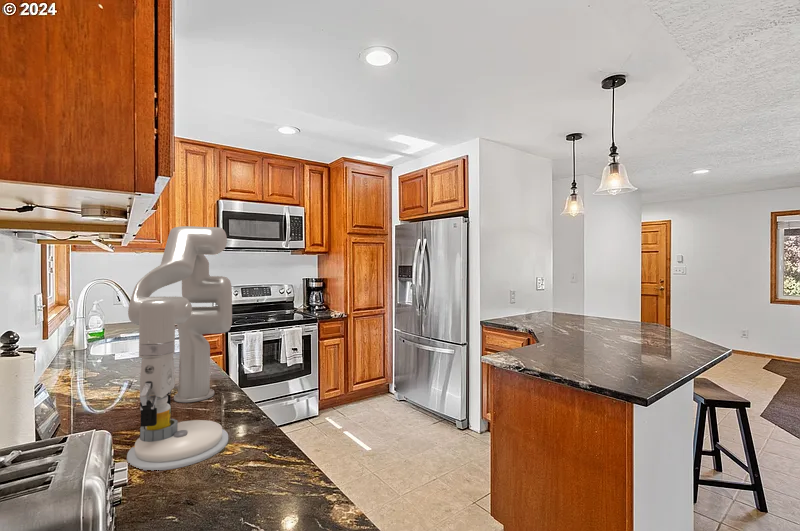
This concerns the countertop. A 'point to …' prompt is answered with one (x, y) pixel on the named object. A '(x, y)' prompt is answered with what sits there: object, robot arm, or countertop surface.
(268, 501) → the countertop surface
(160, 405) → the supplement bottle
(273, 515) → the countertop surface
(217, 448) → the base
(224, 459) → the countertop surface
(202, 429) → the white round disc
